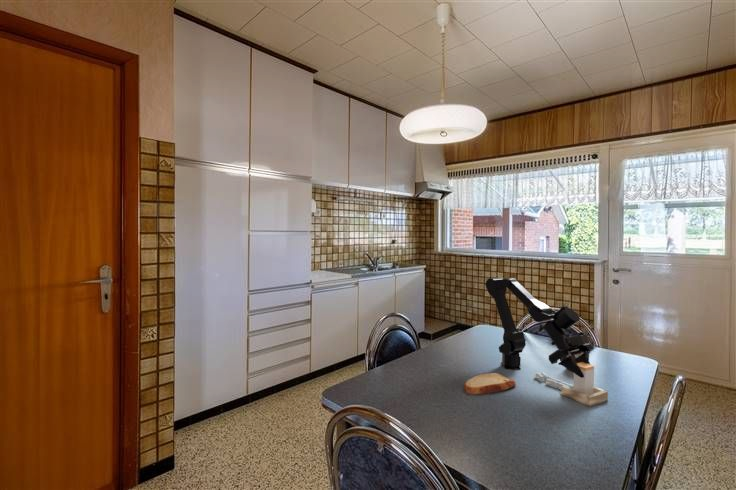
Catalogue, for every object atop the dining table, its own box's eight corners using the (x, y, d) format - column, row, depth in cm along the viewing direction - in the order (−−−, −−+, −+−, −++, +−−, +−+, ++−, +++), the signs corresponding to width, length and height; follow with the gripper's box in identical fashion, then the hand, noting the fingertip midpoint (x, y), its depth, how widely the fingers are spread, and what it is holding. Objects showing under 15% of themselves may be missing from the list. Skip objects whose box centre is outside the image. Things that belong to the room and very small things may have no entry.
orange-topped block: (573, 392, 122) (574, 364, 121) (581, 389, 124) (582, 361, 124) (584, 397, 118) (585, 368, 118) (593, 394, 120) (594, 365, 120)
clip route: (563, 394, 123) (563, 388, 123) (530, 378, 137) (530, 373, 137) (575, 391, 125) (576, 385, 125) (542, 375, 139) (542, 371, 139)
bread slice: (462, 393, 124) (462, 383, 124) (467, 374, 141) (467, 365, 141) (516, 402, 117) (517, 392, 117) (515, 382, 134) (515, 372, 134)
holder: (559, 393, 123) (559, 385, 123) (577, 388, 128) (577, 380, 128) (589, 406, 114) (589, 397, 114) (607, 400, 119) (607, 391, 119)
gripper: (557, 327, 120) (588, 370, 110) (589, 321, 128) (621, 360, 119) (536, 343, 127) (564, 384, 117) (568, 336, 135) (596, 375, 126)
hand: (587, 375), depth 120 cm, fingers closed on orange-topped block, 5 cm apart
